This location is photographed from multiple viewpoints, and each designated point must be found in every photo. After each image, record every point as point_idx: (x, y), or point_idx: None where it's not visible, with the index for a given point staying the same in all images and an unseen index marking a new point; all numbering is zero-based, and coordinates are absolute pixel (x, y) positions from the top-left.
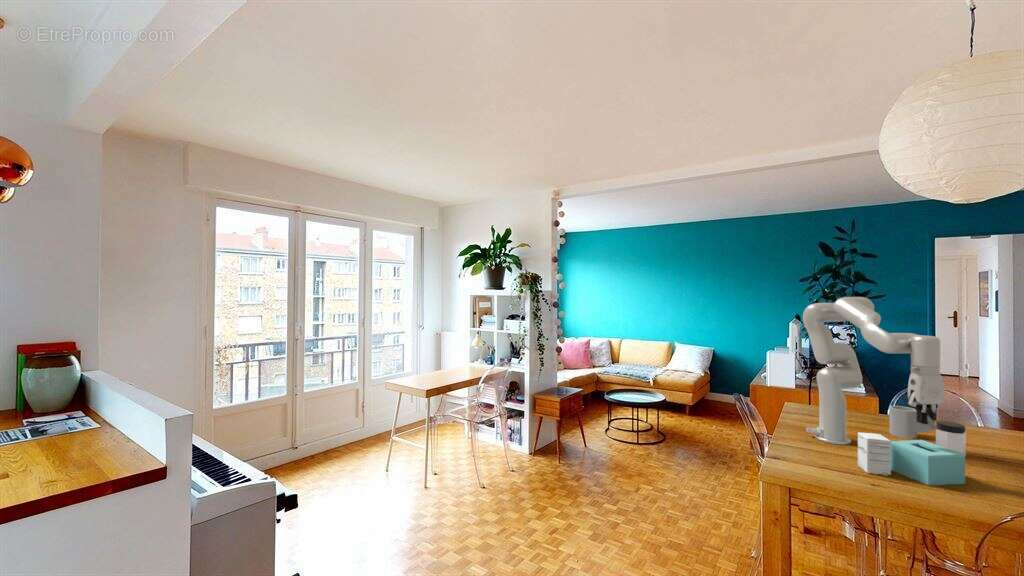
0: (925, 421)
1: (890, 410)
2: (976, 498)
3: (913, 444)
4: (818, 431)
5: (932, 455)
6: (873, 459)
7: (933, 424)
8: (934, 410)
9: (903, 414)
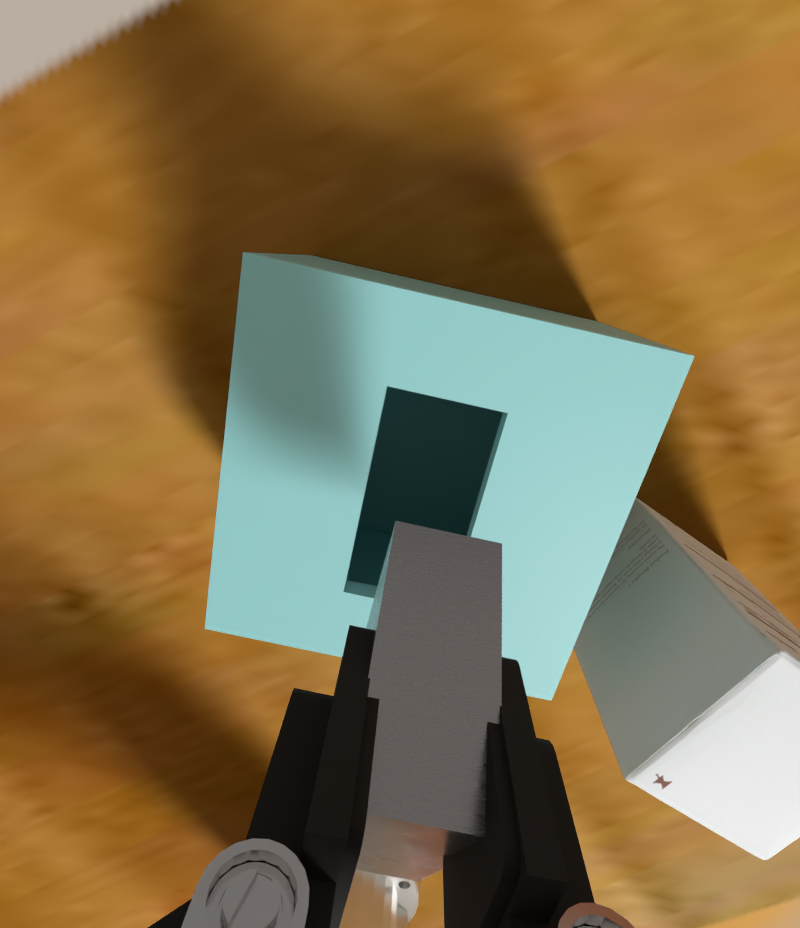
0: (523, 697)
1: None
2: (542, 59)
3: None
4: None
5: (641, 346)
6: (762, 600)
7: (405, 603)
8: (229, 906)
9: None
